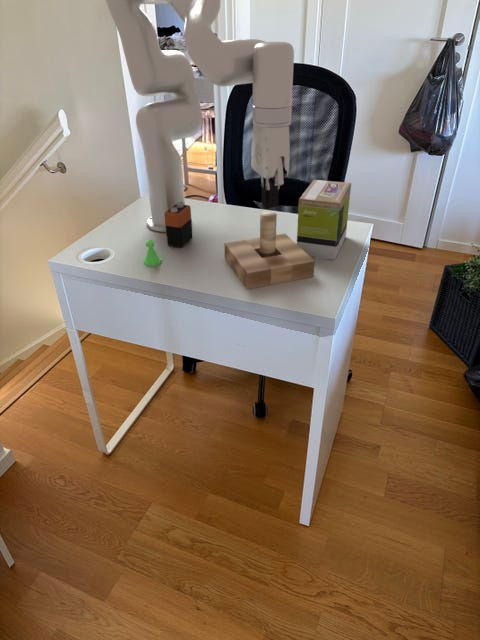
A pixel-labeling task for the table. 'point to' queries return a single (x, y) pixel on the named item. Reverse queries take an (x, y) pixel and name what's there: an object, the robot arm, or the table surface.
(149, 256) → the game piece
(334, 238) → the tea box
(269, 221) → the peg
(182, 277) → the table surface
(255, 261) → the board
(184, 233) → the battery
